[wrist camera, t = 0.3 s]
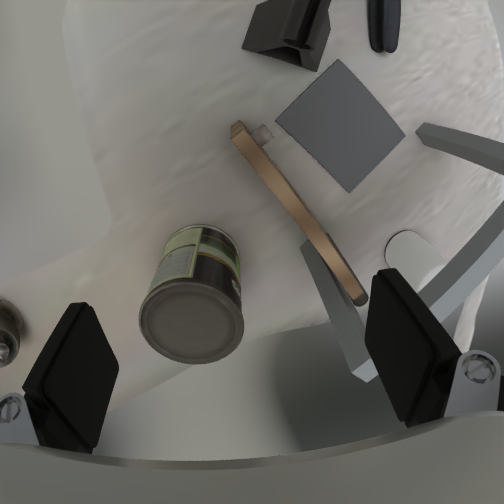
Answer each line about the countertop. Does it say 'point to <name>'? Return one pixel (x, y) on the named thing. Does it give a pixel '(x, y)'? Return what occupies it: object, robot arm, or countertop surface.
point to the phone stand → (290, 31)
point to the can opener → (385, 24)
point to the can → (414, 259)
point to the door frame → (446, 281)
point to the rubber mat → (342, 125)
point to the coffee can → (195, 298)
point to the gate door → (295, 206)
